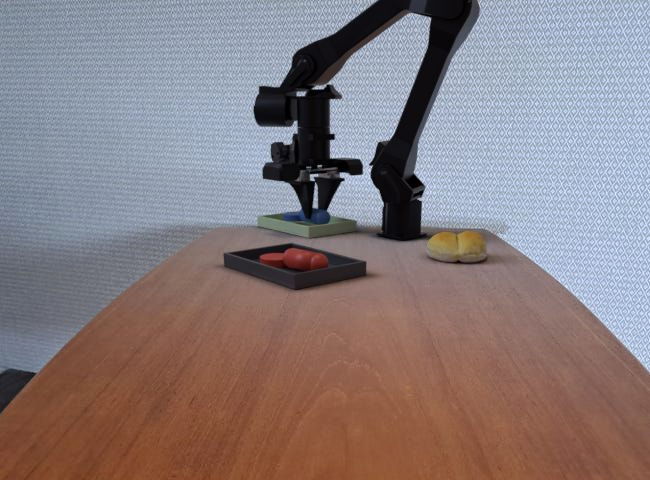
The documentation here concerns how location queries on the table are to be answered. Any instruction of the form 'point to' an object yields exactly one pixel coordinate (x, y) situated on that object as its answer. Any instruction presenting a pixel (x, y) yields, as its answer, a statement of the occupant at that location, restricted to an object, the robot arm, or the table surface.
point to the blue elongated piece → (316, 218)
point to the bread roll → (457, 247)
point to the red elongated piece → (296, 260)
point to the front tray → (292, 278)
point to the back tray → (307, 226)
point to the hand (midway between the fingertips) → (314, 218)
